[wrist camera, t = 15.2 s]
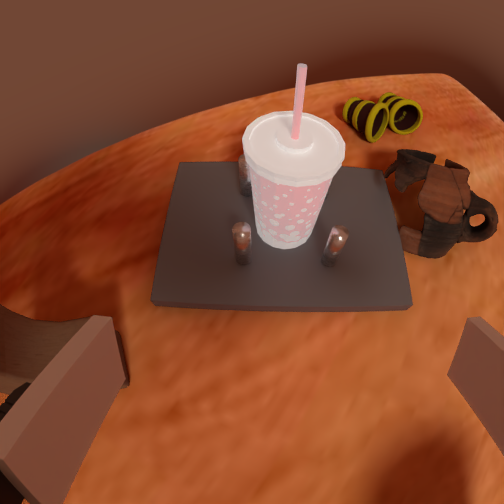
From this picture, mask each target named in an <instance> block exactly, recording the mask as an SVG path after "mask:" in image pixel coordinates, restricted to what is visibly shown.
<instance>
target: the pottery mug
mask: <svg viewBox="0 0 504 504" xmlns="http://www.w3.org/2000/svg"><path fill="white" fill-rule="evenodd" d="M397 153H398V155H397V160H396V161H395V162H394V163H393V164H391V165H390V166H389V168H388V169H387V170H386V172H385V174H384V178H388V176H389V175H390V174H391V173H392V172H394V171H395V179H396V180H395V186H396V188H397V189H398V190H399V191H400V192H404V191H405V190H406V188H407V186H408V185H411V184H412V183H414V182H417V181H420V180H424V179H425V181H424V184H423V187H422V189H421V191H420V193H419V195H418V204H419V207H420V208H421V209H422V210H423V211H424V212H425V215H424V226H423V229H422V231H419V230H415V229H411V228H409V227H406V226H401V228H400V230H399V235H400V239H401V243H402V248H403V250H404V251H407V252H409V253H412V254H415V255H419V256H422V257H427V258H440V257H442V256H444V255H446V254H447V252H448V251H449V250H450V249H451V248H452V247H453V246H454V244H455V243H456V242H457V243H460V242H463V241H464V242H481V241H484V240H486V239H488V238H490V237H491V236H492V235H493V234H494V233H495V232H496V231H497V224H498V215H497V212H496V210H495V208H494V206H493V205H492V204H491V203H490V202H488V201H487V200H485V199H482V198H480V197H478V196H477V195H476V194H475V193H474V192H473V191H471V190H470V186H469V185H468V183H467V181H468V177H469V174H470V172H469V170H468V169H467V168H465V167H463V166H461V165H460V164H457V163H455V162H453V161H451V160H448V159H446V161H445V166H440V165H437V164H433V163H434V161H435V158H436V155H434V154H431V153H427V152H421V151H418V150H409V149H401V150H398V151H397ZM463 209H464V210H466V211H465V213H464V215H463ZM476 214H483V215H484V216H485V221H484V222H483V223H482V224H480V225H478V226H475V227H473V226H471V225H470V223H469V219H470V217H471V216H474V215H476Z"/></svg>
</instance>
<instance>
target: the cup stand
mask: <svg viewBox="0 0 504 504" xmlns="http://www.w3.org/2000/svg"><path fill="white" fill-rule="evenodd" d="M238 160H239V162H180V163H179V167H178V171H177V175H176V179H175V183H174V187H173V191H172V195H171V199H170V203H169V208H168V212H167V216H166V221H165V226H164V230H163V235H162V240H161V245H160V250H159V255H158V260H157V265H156V271H155V276H154V282H153V288H152V294H151V302H152V303H153V304H154V305H155V306H167V307H182V308H199V309H219V310H243V311H281V312H359V311H395V310H407V309H408V308H410V307H411V306H412V305H413V303H412V296H411V290H410V284H409V279H408V273H407V268H406V263H405V258H404V253H403V248H402V243H401V239H400V235H399V230H398V226H397V222H396V218H395V214H394V210H393V206H392V202H391V199H390V195H389V192H388V188H387V185H386V181H385V178H384V174H383V171H382V170H375V169H365V168H355V167H343V166H341V167H340V168H339V170H338V171H337V172H336V174H335V175H334V176H333V178H332V181H331V184H330V186H329V189H328V192H327V194H326V197H325V199H324V202H323V205H322V207H321V210H320V212H319V215H318V217H317V220H316V223H315V225H314V228H313V230H312V233H311V235H310V236H309V238H308V239H307V240H306V242H305V243H303V244H302V245H300V246H298V247H296V248H291V249H280V248H275V247H272V246H271V245H269V244H267V243H266V242H264V241H263V240H262V238H261V237H260V236H259V234H258V233H257V228H256V222H255V213H254V204H253V195H252V186H251V178H250V169H249V164H248V163H247V162H246V160H245V155H244V154H243V155H241V156H240V157H239V159H238Z"/></svg>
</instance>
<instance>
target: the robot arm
mask: <svg viewBox="0 0 504 504" xmlns="http://www.w3.org/2000/svg"><path fill="white" fill-rule="evenodd" d="M447 375H448V377H449V378H450V379H451V381H452V382H453V383H454V385H455V386H456V387H457V389H458V390H459V391H460V393H461V394H462V395H463V397H464V398H465V400H466V401H467V402H468V404H469V405H470V407H471V408H472V409H473V411H474V412H475V414H476V415H477V417H478V418H479V419H480V421H481V422H482V424H483V425H484V427H485V428H486V430H487V431H488V433H489V434H490V436H491V437H492V439H493V440H494V442H495V443H496V445H497V446H498V448H499V449H500V451H501V452H502V454H503V456H504V337H503V336H502V335H501V334H500V333H499V332H498V331H496V330H495V329H494V328H493V327H492V326H491V325H489V324H488V323H487V322H486V321H485V320H484V319H482V318H481V317H473V318H467V321H466V324H465V327H464V330H463V333H462V336H461V339H460V342H459V345H458V348H457V351H456V353H455V356H454V359H453V361H452V364H451V366H450V369H449V371H448V374H447ZM125 379H126V378H125V375H124V371H123V366H122V362H121V358H120V354H119V349H118V345H117V340H116V335H115V330H114V325H113V320H112V317H107V316H99V315H93V316H92V317H91V318H90V319H89V320H88V321H87V322H86V323H85V324H84V325H83V326H82V328H81V329H80V330H79V331H78V332H77V333H76V334H75V335H74V336H73V337H72V338H71V339H70V341H69V342H68V343H67V344H66V345H65V346H64V347H63V348H62V349H61V350H60V352H59V353H58V354H57V355H56V356H55V357H54V358H53V359H52V360H51V362H50V363H49V364H48V365H47V366H46V367H45V368H44V370H43V371H42V372H41V373H40V374H39V375H38V377H37V378H36V379H35V380H34V381H33V382H32V383H29V382H26V383H24V384H23V385H21V386H19V387H18V388H16V389H15V390H13V392H12V393H11V394H10V395H9V396H8V397H7V399H6V400H5V403H2V405H1V406H0V504H21V503H22V501H23V499H24V498H25V499H26V500H27V501H28V502H29V503H30V504H63V502H64V500H65V498H66V496H67V493H68V491H69V489H70V487H71V485H72V483H73V481H74V479H75V476H76V474H77V472H78V470H79V468H80V466H81V464H82V462H83V460H84V458H85V456H86V454H87V452H88V450H89V448H90V446H91V444H92V442H93V440H94V438H95V436H96V434H97V432H98V430H99V428H100V426H101V424H102V422H103V420H104V418H105V416H106V414H107V413H108V411H109V409H110V407H111V405H112V403H113V401H114V399H115V397H116V396H117V394H118V392H119V390H120V388H121V386H122V384H123V383H124V381H125Z"/></svg>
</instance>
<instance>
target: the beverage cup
mask: <svg viewBox="0 0 504 504" xmlns="http://www.w3.org/2000/svg"><path fill="white" fill-rule="evenodd" d="M306 73H307V65H305V64H298V66H297V78H296V89H295V100H294V111H281V112H273V113H270V114H267V115H264V116H261V117H258V118H257V119H256V120H254V121H253V122H252V123H251V124H250V125H248V126H247V128H246V130H245V133H244V135H243V137H242V143H243V150H244V155H245V160H246V162H247V163H248V164H249V169H250V178H251V186H252V195H253V204H254V213H255V222H256V228H257V233H258V234H259V236H260V237H261V238H262V240H263V241H264V242H266V243H267V244H269V245H271V246H272V247H275V248H280V249H291V248H296V247H298V246H300V245H302V244H303V243H305V242H306V240H307V239H308V238H309V236H310V235H311V233H312V230H313V228H314V225H315V223H316V220H317V217H318V215H319V212H320V210H321V207H322V205H323V202H324V199H325V197H326V194H327V192H328V189H329V186H330V184H331V181H332V178H333V176H334V175H335V174H336V172H337V171H338V170H339V168H340V167H341V164H342V161H343V160H344V157H345V142H344V141H343V139H342V137H341V135H340V133H339V131H338V130H336V129H335V128H334V127H333V126H332V125H330V124H329V123H328V122H327V121H325V120H323V119H321V118H318V117H316V116H314V115H311V114H308V113H302V109H303V100H304V91H305V81H306Z"/></svg>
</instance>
